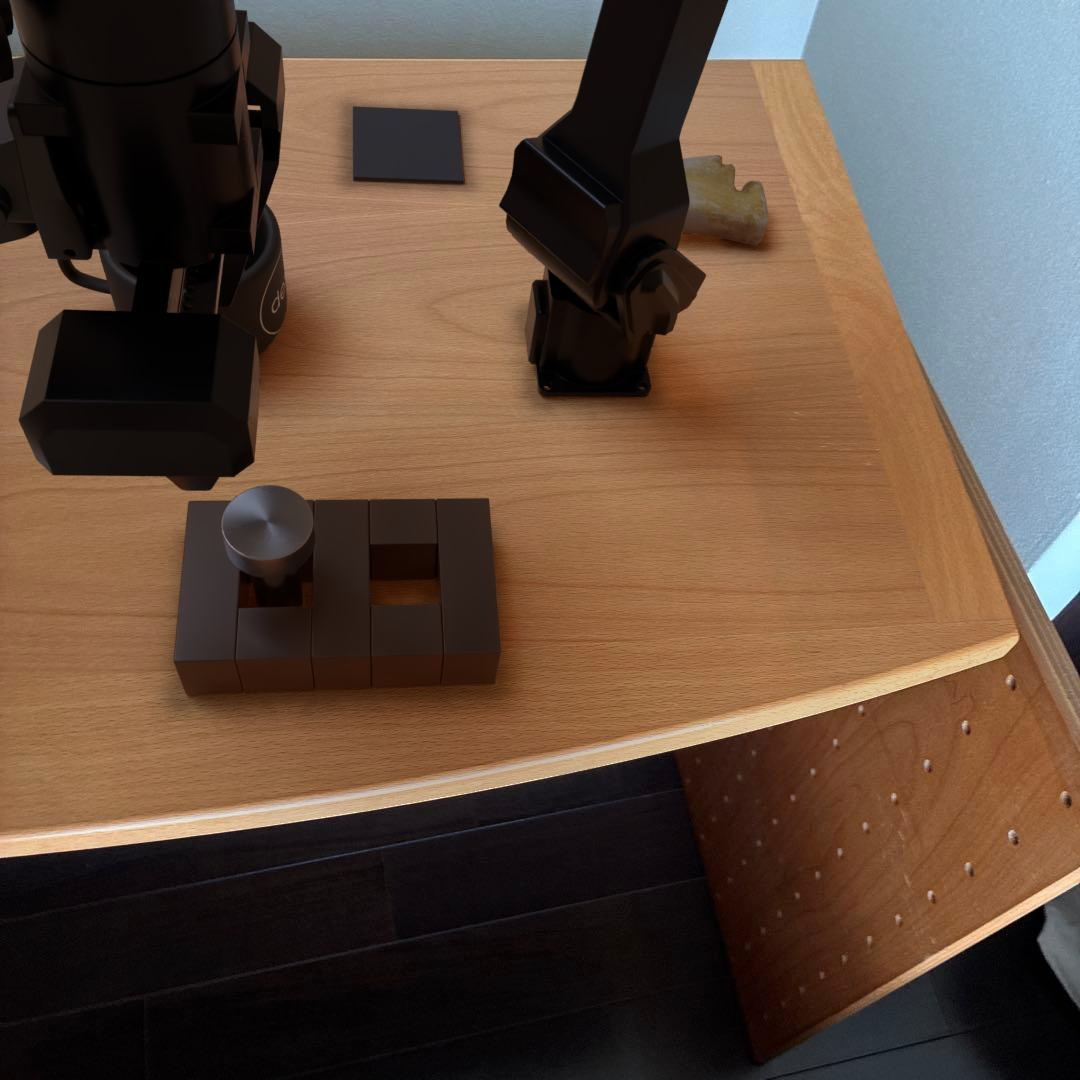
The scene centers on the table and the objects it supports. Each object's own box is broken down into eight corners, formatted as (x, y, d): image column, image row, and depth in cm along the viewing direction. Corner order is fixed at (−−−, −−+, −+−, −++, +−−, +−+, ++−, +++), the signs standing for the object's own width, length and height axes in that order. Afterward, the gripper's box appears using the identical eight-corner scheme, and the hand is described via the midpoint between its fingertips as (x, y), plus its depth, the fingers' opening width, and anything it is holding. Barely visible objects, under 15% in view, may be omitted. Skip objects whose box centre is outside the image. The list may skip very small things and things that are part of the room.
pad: (457, 114, 74) (458, 110, 74) (463, 184, 71) (463, 180, 70) (352, 109, 73) (352, 106, 73) (353, 180, 70) (352, 176, 69)
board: (483, 535, 57) (489, 497, 54) (495, 685, 52) (501, 652, 49) (198, 539, 54) (187, 499, 52) (185, 695, 50) (172, 661, 47)
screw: (323, 577, 54) (314, 484, 47) (322, 646, 52) (312, 559, 45) (243, 578, 54) (223, 484, 47) (239, 648, 52) (218, 561, 45)
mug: (306, 285, 64) (297, 187, 58) (269, 402, 59) (256, 309, 53) (100, 252, 64) (71, 150, 58) (46, 367, 59) (7, 269, 53)
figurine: (755, 156, 72) (535, 117, 68) (786, 179, 68) (552, 138, 64) (732, 234, 75) (519, 200, 71) (760, 260, 70) (534, 226, 66)
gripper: (-106, -179, 34) (32, 217, 47) (-311, 252, 24) (-64, 600, 37) (266, -147, 35) (299, 228, 48) (216, 271, 25) (274, 599, 39)
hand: (208, 390), depth 43 cm, fingers open, 9 cm apart
